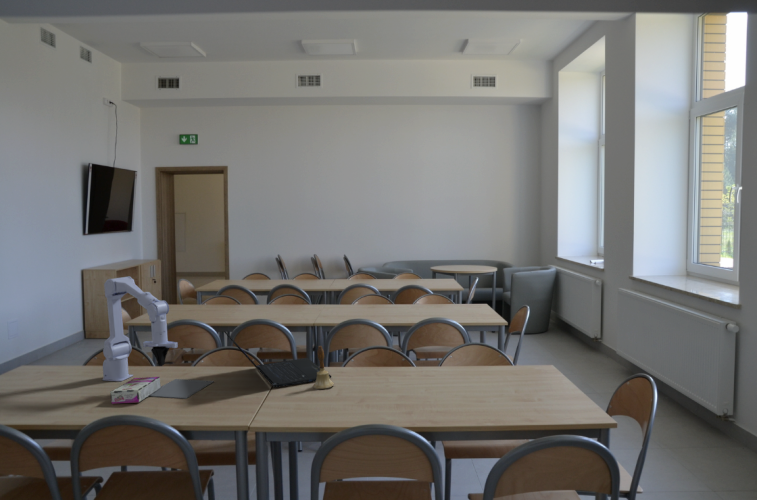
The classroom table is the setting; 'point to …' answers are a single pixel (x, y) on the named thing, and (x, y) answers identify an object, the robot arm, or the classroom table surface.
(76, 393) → the classroom table surface
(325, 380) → the hand bell
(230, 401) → the classroom table surface
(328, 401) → the classroom table surface
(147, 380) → the candy bar box
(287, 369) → the laptop
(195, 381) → the mat
